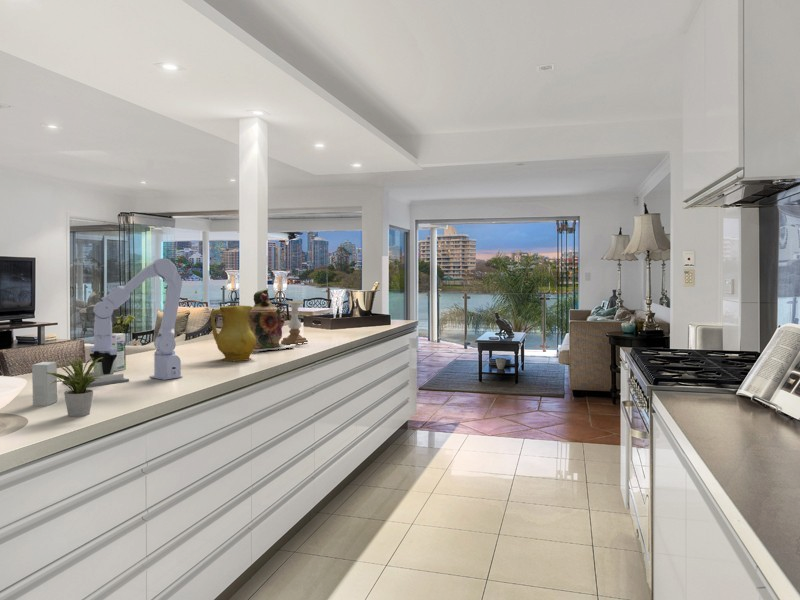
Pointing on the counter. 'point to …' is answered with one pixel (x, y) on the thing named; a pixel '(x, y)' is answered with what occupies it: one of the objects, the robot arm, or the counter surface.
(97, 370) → the block
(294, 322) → the candle holder
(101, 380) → the rail board
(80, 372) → the house plant
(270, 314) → the cookie jar
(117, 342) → the syrup box
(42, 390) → the skincare box
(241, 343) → the pitcher
